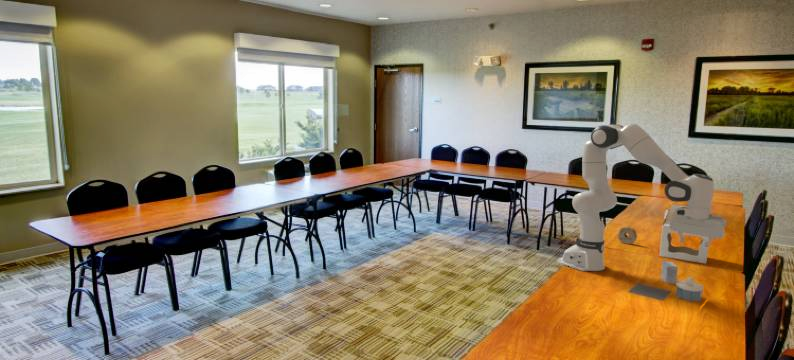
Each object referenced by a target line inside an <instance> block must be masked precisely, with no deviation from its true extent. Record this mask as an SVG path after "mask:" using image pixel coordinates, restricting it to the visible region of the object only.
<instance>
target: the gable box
mask: <svg viewBox="0 0 794 360" xmlns="http://www.w3.org/2000/svg"><path fill="white" fill-rule="evenodd" d="M680 207H687V205H681V204H672V205H670V209H665V211H664V217H663V219H664V221H663V223H662V227H661V236H660V247H659V248H660V249H659V257H661V258H662V257H663V258H667V259H675V260H681V261H686V262H694V263H699V264H707V259H708V254H709V253H708V252H709V247H705V242H708V241H709V237H707V236H701V235H696V234H691V233H685V232H683V233H682V235H685V236H689V237H690V236H693V237H699V238H701V240H700V243H699V247H698V249H694V248H691V247H688V246H682V245H681V246H675V245H674V246H673V245H672V239H673V238H672V235H671V233H677V234H678V231H675V230H671V229H670V228H669V226H670V221H671V218H672V214H674V210H675V209H677V208H680Z"/></svg>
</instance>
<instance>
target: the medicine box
mask: <svg viewBox="0 0 794 360" xmlns="http://www.w3.org/2000/svg"><path fill="white" fill-rule="evenodd" d="M661 265H662V266H661V273H660V274H661V275H660V279H661V280H662V281H664V283H665V284H671V285H672V284H673V285H676V282H677V281H678V279H677V278H678V268H679V267H678V266H677V265H676V264H675V263H674V262H673V261H662V263H661Z"/></svg>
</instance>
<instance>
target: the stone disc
mask: <svg viewBox="0 0 794 360" xmlns="http://www.w3.org/2000/svg"><path fill="white" fill-rule="evenodd" d="M627 234H628V235H627ZM637 236H638V235H637V231H636V229H635V228H633V227H630V226H623V227H620V229H619V231H618V234H617V239H618V240H619V241H620V243H623V244H626V245H632V244H634V243H635V242H636V241H637V238H638V237H637Z"/></svg>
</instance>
